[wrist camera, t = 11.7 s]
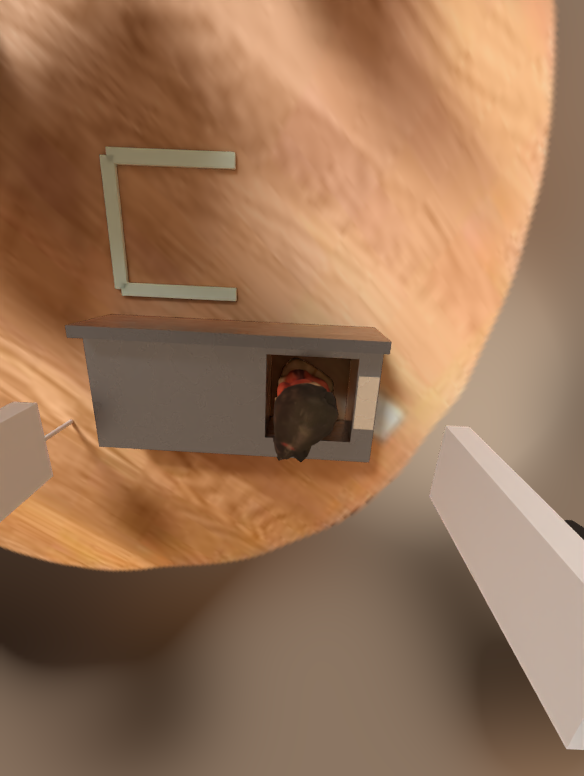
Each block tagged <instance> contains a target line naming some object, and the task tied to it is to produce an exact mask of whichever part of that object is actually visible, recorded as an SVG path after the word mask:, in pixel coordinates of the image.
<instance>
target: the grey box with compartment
mask: <svg viewBox="0 0 584 776" xmlns="http://www.w3.org/2000/svg"><path fill="white" fill-rule="evenodd" d="M65 329H66V335H67V338H83V343H84V350H85V356H86V363H87V369H88V376H89V382H90V389H91V395H92V402H93V408H94V415H95V421H96V428H97V434H98V441H99V447H116V448H133V449H150V450H167V451H184V452H202V453H219V454H236V455H253V456H270V457H277V454H276V451H275V447H274V442H273V438H274V436H275V433H274V423H273V416H270V395H271V357H272V355H291V356H310V357H329V358H348V359H351V362H350V372H349V382H348V391H347V401H346V411H345V420H336V422H335V424H334V427H333V430H332V432H331V433H330V434H329V435H328V436H326V437H324V438H323V439H322V440H321V441H319V442H318V443H316V444H315V445H313V446H311V449H310V452H309V454H308V456H307V457H306V458H305V459H321V460H338V461H355V462H369V460H370V452H371V445H372V438H373V430H374V423H375V415H376V408H377V400H378V393H379V385H380V378H381V370H382V363H383V355H384V354H390V349H391V341H390V340H389V339H388V338H386V337H385V336H384V335H383V334H382V333H381V332H379V331H378V330H377V329H376V328H373V327H354V326H334V325H314V324H294V323H275V322H255V321H235V320H215V319H195V318H176V317H156V316H136V315H116V314H110V315H106V316H102V317H97V318H93V319H89V320H85V321H80V322H76V323H72V324H68V325H65ZM290 458H294V457H290Z"/></svg>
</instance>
